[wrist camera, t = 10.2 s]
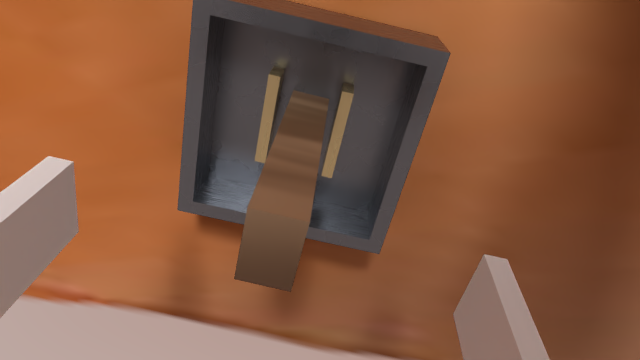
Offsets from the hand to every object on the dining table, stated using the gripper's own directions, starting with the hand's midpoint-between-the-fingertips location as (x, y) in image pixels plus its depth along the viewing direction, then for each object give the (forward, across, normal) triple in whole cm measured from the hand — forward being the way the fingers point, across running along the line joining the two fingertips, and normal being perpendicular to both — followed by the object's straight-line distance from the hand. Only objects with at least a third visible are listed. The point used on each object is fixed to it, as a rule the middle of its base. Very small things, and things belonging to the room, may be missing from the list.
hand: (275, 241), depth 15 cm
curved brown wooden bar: (+12, 0, -1) cm, 12 cm away
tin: (+13, 0, -1) cm, 13 cm away
